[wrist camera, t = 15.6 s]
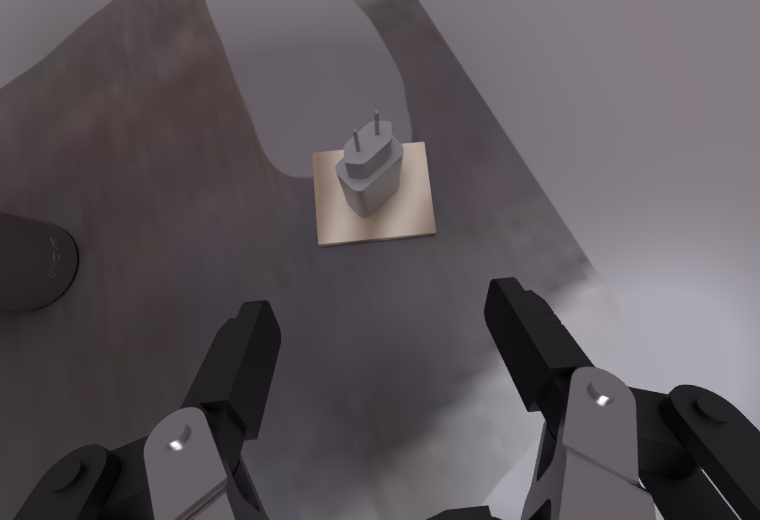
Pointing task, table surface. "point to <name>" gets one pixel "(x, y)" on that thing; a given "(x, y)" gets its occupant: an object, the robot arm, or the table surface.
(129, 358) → the table surface
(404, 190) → the birch board
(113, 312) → the table surface
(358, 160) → the power adapter
